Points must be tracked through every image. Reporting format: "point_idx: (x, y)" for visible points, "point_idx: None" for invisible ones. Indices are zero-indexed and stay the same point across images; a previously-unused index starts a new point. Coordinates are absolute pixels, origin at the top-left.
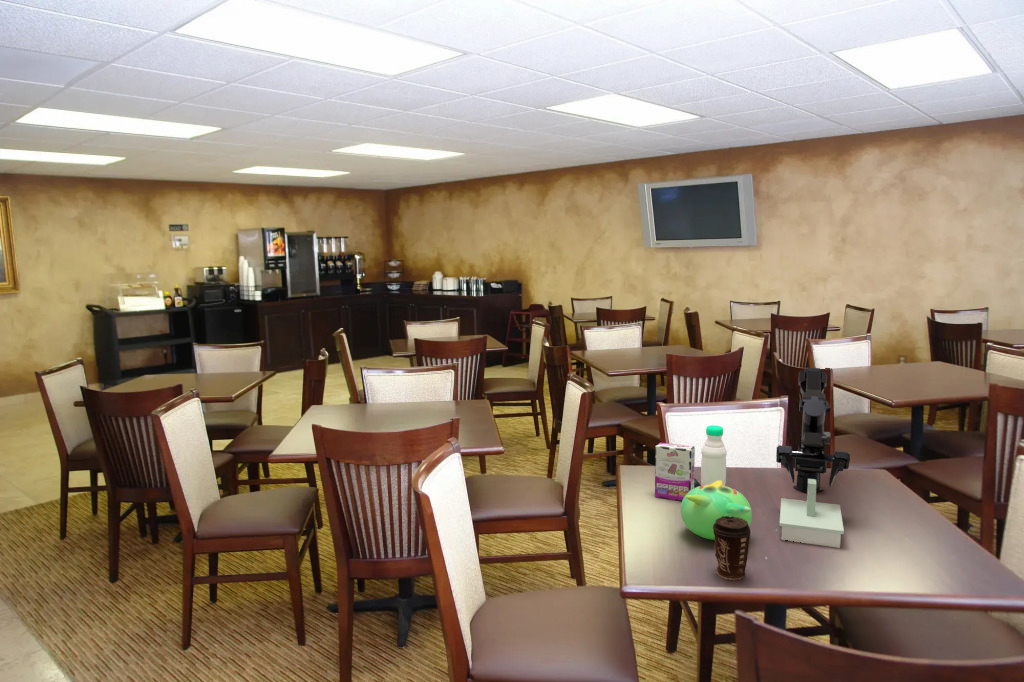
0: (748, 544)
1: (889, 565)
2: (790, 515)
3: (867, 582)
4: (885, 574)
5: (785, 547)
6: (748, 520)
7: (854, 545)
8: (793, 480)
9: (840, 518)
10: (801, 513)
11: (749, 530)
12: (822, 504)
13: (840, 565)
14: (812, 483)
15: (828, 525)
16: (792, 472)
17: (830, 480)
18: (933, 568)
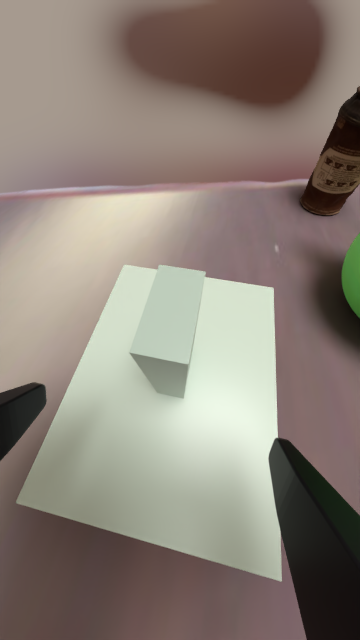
0: (326, 141)
1: (81, 248)
2: (243, 343)
3: (141, 207)
4: (104, 226)
5: None
6: (357, 238)
7: (101, 312)
8: (285, 442)
9: (93, 340)
10: (206, 366)
11: (344, 104)
12: (95, 493)
13: (161, 240)
14: (179, 274)
15: (149, 289)
16: (344, 518)
17: (3, 399)
18: (15, 248)
